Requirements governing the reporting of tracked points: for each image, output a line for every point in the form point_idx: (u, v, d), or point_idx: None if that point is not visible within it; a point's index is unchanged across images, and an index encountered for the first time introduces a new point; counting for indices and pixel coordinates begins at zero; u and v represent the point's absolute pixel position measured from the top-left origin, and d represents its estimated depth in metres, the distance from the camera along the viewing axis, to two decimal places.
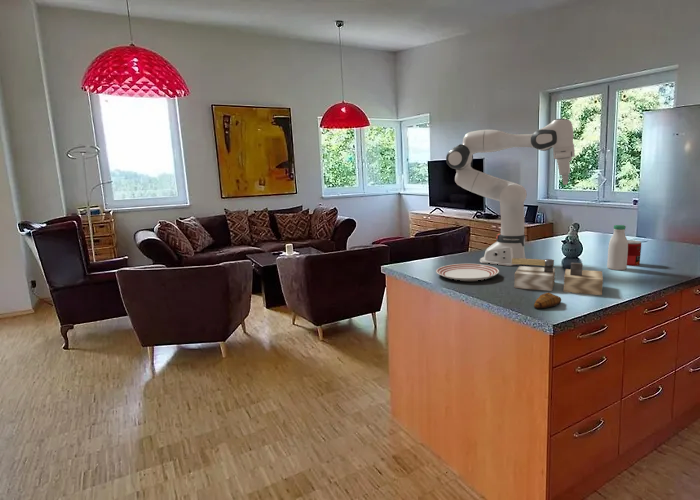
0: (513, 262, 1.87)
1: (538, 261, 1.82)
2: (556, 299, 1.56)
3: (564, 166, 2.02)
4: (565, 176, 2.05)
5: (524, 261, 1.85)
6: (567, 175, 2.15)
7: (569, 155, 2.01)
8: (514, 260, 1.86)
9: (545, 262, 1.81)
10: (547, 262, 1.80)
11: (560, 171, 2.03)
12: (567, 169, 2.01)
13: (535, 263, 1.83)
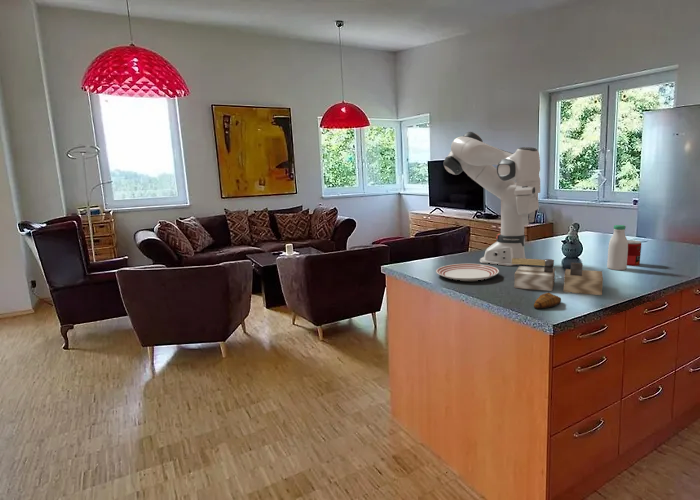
0: (513, 262, 1.87)
1: (538, 261, 1.82)
2: (556, 299, 1.56)
3: (523, 205, 1.71)
4: (525, 216, 1.75)
5: (524, 261, 1.85)
6: (533, 212, 1.84)
7: (530, 192, 1.70)
8: (514, 260, 1.86)
9: (545, 262, 1.81)
10: (547, 262, 1.80)
11: (518, 210, 1.72)
12: (526, 209, 1.71)
13: (535, 263, 1.83)
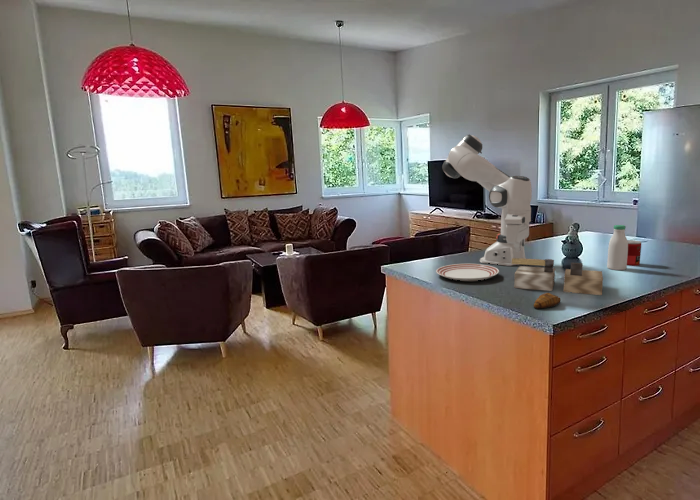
0: (513, 262, 1.87)
1: (538, 261, 1.82)
2: (556, 299, 1.57)
3: (512, 234, 1.73)
4: (517, 243, 1.80)
5: (524, 261, 1.85)
6: (520, 241, 1.82)
7: (519, 222, 1.72)
8: (514, 260, 1.86)
9: (545, 262, 1.81)
10: (547, 262, 1.80)
11: (507, 239, 1.74)
12: (515, 238, 1.73)
13: (535, 263, 1.83)
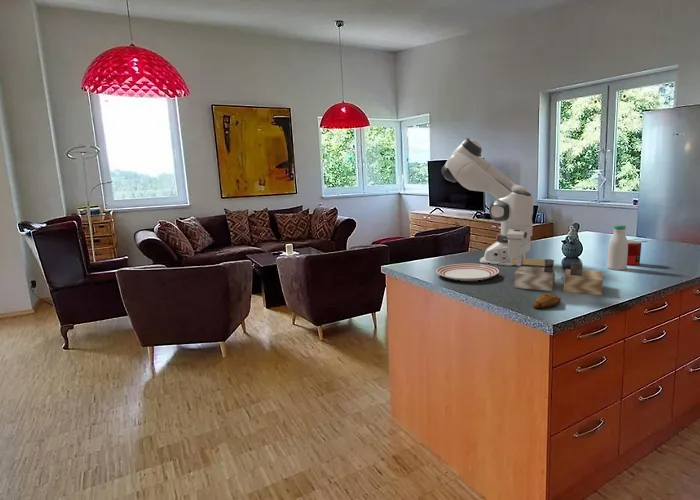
0: (513, 262, 1.87)
1: (538, 261, 1.82)
2: (555, 299, 1.57)
3: (514, 249, 1.75)
4: (519, 257, 1.82)
5: (524, 261, 1.85)
6: (522, 255, 1.84)
7: (521, 237, 1.74)
8: (514, 260, 1.87)
9: (545, 262, 1.81)
10: (547, 262, 1.80)
11: (509, 253, 1.76)
12: (517, 253, 1.74)
13: (535, 263, 1.83)
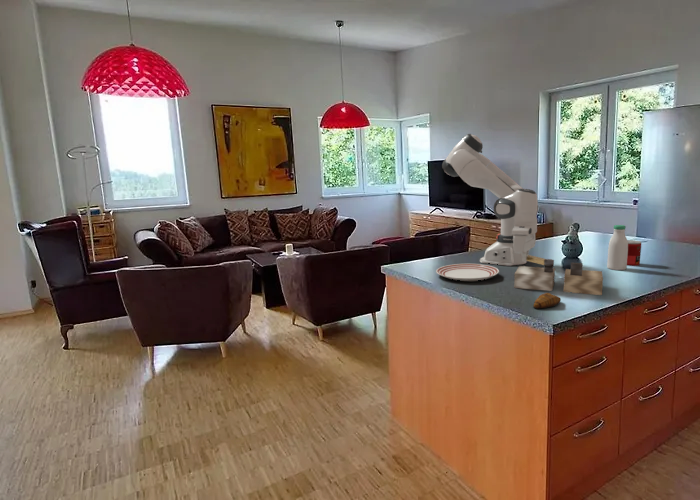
0: None
1: (539, 260, 1.85)
2: (555, 299, 1.57)
3: (519, 244, 1.81)
4: (524, 252, 1.88)
5: (530, 258, 1.90)
6: (527, 251, 1.90)
7: (526, 233, 1.80)
8: None
9: (544, 262, 1.82)
10: (544, 261, 1.81)
11: (514, 249, 1.82)
12: (522, 248, 1.81)
13: (537, 261, 1.86)
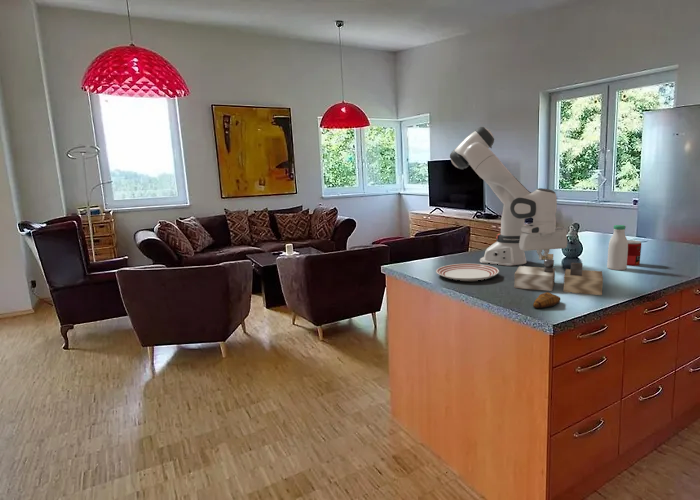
0: None
1: (546, 259, 1.85)
2: (555, 299, 1.57)
3: (522, 241, 1.89)
4: (538, 251, 1.91)
5: None
6: (546, 251, 1.91)
7: (528, 231, 1.87)
8: (547, 255, 1.94)
9: None
10: None
11: (519, 245, 1.91)
12: (523, 245, 1.89)
13: None
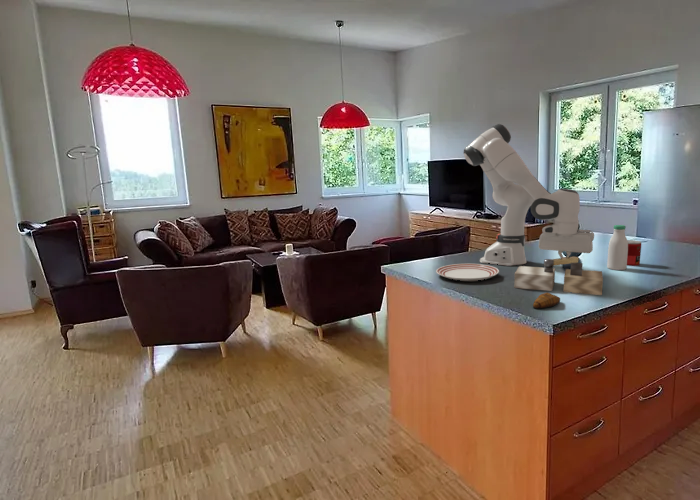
0: None
1: None
2: (555, 299, 1.57)
3: None
4: None
5: None
6: None
7: (542, 230, 1.89)
8: None
9: None
10: None
11: None
12: None
13: None
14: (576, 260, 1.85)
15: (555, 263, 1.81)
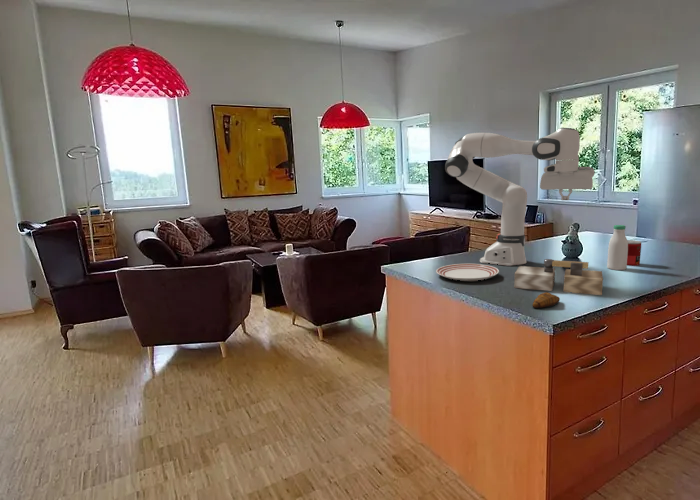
0: None
1: None
2: (554, 299, 1.57)
3: None
4: (559, 191, 1.93)
5: None
6: None
7: (544, 170, 1.92)
8: None
9: None
10: None
11: None
12: (540, 184, 1.95)
13: None
14: (585, 266, 1.74)
15: (554, 264, 1.80)
